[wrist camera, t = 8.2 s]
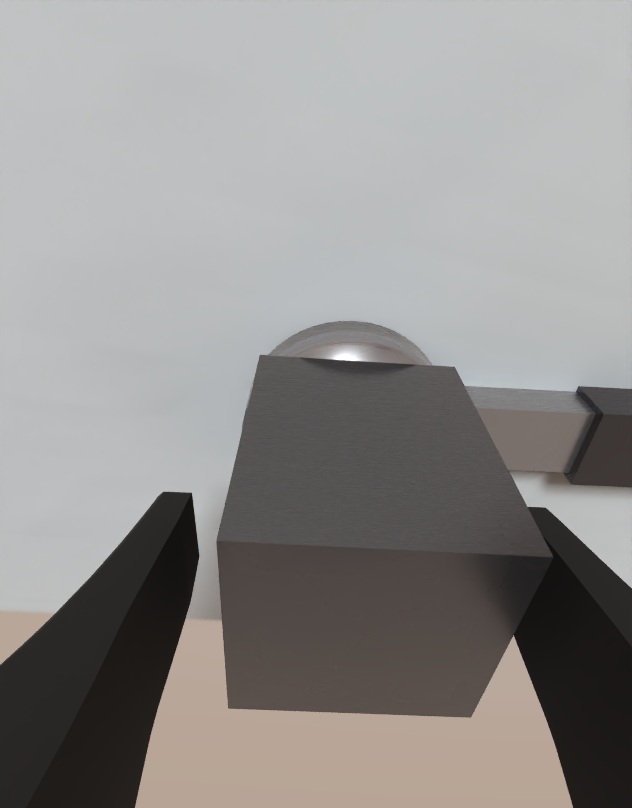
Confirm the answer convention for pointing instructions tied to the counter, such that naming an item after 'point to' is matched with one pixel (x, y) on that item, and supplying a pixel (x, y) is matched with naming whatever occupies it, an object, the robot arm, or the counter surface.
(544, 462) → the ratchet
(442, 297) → the counter surface
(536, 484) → the counter surface
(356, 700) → the brushed dark grey cube
